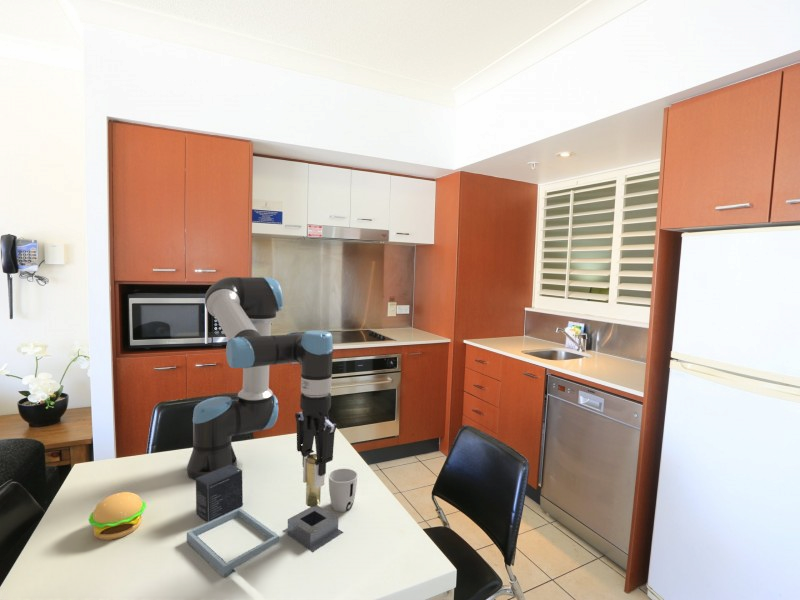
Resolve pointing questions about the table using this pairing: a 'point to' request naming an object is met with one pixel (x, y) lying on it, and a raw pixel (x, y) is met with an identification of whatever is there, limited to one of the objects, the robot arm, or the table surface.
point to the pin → (311, 483)
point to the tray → (228, 567)
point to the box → (219, 492)
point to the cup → (342, 489)
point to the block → (313, 528)
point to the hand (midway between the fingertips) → (313, 483)
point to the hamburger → (117, 515)
